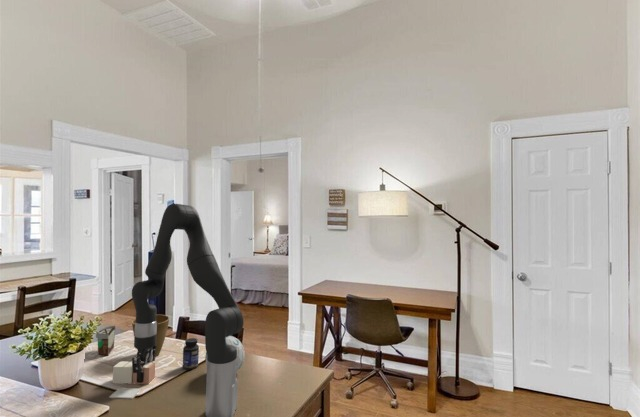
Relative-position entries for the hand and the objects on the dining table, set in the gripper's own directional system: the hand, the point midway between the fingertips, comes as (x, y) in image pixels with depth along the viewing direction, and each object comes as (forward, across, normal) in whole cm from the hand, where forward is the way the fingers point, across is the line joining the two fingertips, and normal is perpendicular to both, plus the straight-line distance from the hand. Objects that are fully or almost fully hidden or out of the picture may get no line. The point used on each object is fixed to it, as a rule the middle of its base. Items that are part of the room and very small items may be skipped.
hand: (144, 378), depth 130 cm
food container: (+1, +25, +31) cm, 40 cm away
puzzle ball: (+1, +7, -29) cm, 29 cm away
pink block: (+1, 0, 0) cm, 1 cm away
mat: (+1, -10, +1) cm, 10 cm away
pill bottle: (+1, +13, -13) cm, 18 cm away
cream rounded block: (+1, 0, +7) cm, 7 cm away
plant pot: (+1, +23, +9) cm, 25 cm away
